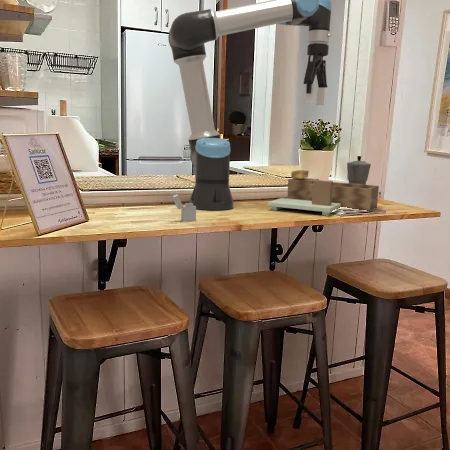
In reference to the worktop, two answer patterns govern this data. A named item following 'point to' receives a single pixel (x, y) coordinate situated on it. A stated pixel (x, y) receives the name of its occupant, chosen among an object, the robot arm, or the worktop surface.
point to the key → (299, 174)
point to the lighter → (185, 209)
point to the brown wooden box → (337, 193)
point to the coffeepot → (358, 171)
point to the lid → (319, 199)
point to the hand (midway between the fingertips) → (314, 104)
